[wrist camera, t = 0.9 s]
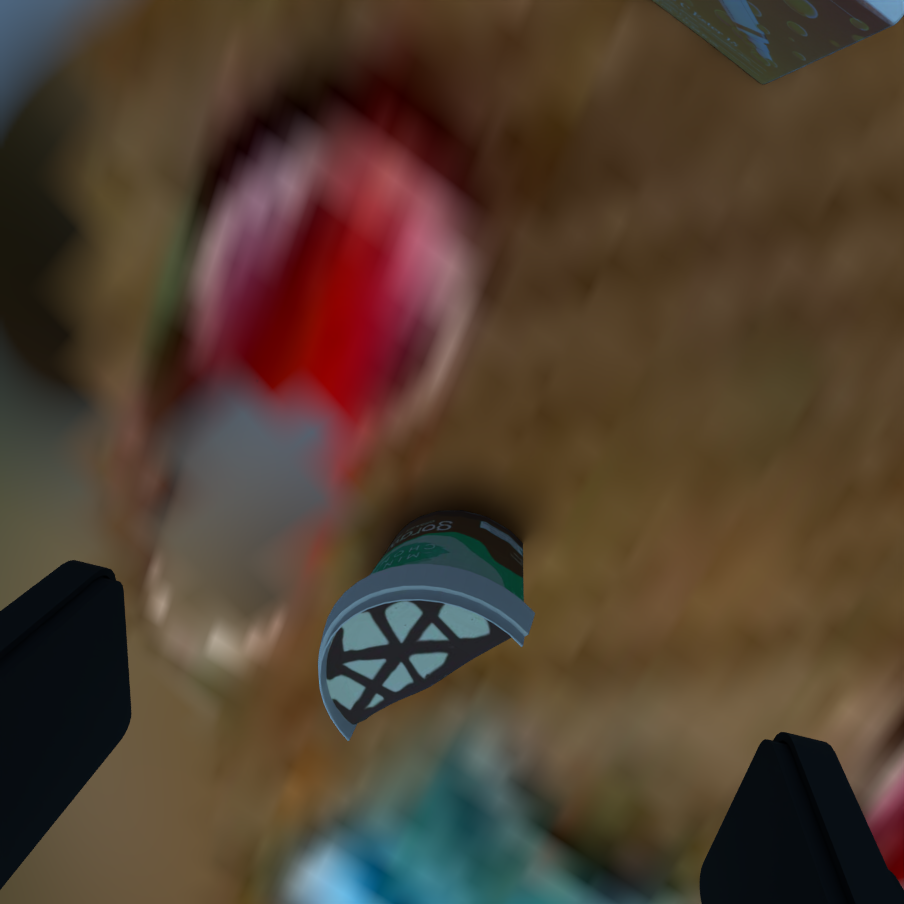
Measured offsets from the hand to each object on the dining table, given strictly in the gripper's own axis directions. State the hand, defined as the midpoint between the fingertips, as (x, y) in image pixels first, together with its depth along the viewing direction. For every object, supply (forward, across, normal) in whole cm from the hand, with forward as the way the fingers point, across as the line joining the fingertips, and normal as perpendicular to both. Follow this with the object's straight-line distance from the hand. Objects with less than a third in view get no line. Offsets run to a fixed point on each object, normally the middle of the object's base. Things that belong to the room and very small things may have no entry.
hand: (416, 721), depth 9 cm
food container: (+27, +3, +14) cm, 31 cm away
